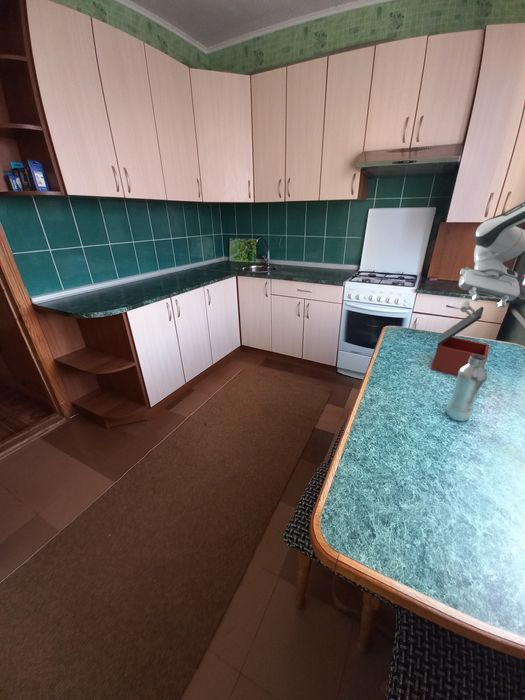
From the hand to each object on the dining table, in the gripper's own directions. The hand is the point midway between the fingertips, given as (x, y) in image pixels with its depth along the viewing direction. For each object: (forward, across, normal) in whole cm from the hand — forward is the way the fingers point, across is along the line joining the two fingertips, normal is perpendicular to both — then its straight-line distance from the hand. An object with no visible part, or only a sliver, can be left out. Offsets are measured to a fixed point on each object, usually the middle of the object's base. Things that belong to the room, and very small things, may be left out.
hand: (488, 303), depth 105 cm
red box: (+23, -3, +13) cm, 26 cm away
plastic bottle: (+47, -13, -4) cm, 49 cm away
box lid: (+12, -9, +2) cm, 15 cm away
